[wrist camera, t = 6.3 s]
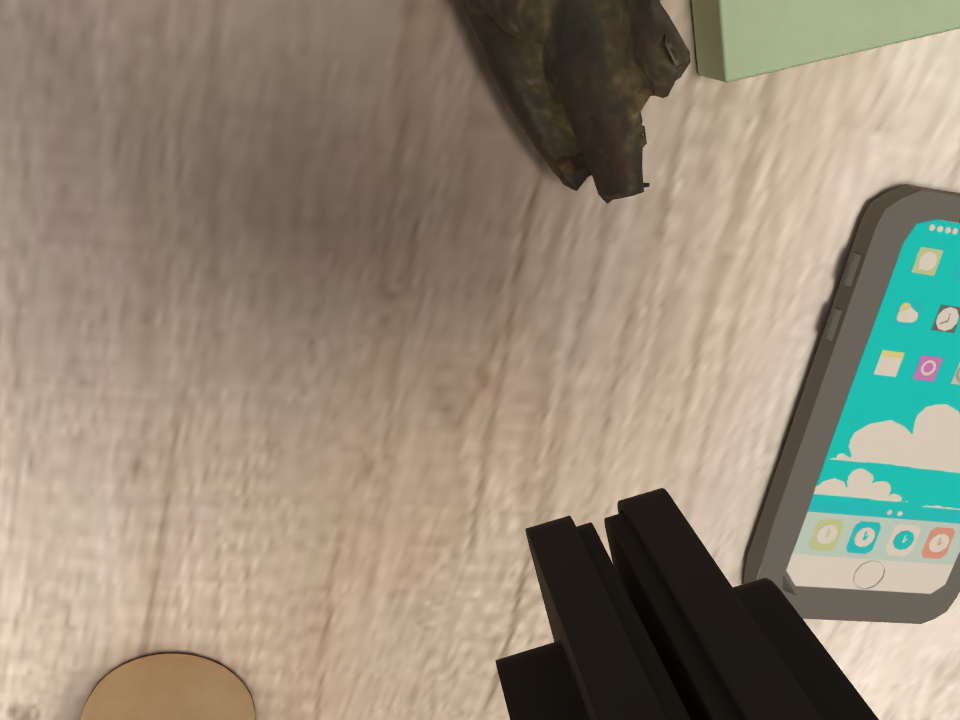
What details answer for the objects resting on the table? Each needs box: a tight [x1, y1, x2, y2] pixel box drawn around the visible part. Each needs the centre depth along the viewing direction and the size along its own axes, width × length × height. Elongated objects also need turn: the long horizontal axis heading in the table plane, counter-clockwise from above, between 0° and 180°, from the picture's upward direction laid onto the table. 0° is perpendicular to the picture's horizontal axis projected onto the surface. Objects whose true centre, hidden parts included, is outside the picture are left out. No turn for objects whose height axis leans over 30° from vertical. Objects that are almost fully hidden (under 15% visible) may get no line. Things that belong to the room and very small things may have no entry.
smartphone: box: [744, 185, 960, 624], centre depth 30 cm, size 9×1×15 cm
